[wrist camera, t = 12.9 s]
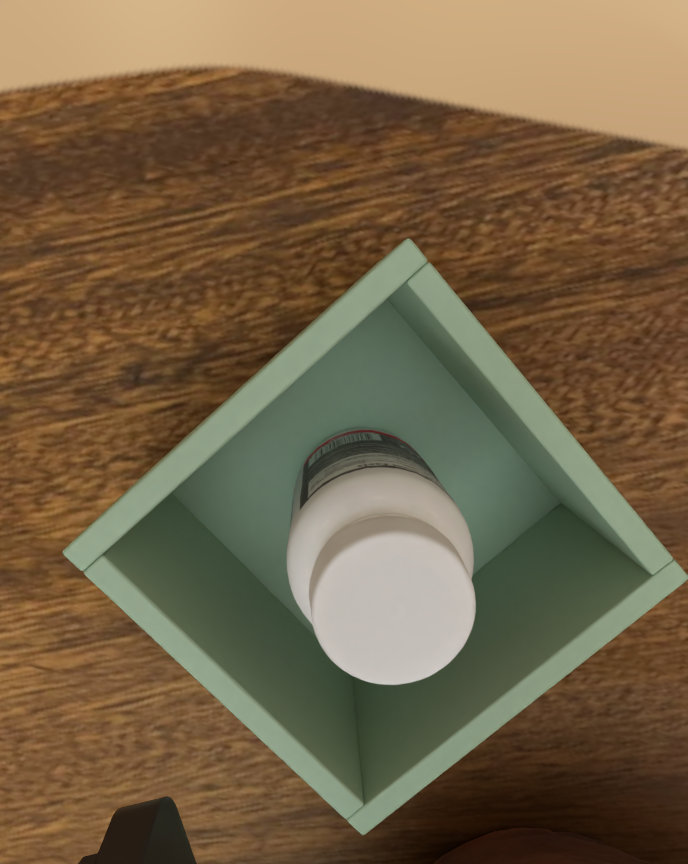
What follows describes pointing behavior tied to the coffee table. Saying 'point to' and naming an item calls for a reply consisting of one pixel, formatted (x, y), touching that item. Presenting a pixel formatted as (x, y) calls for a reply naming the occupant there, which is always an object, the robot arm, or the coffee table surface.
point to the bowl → (536, 849)
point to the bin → (462, 479)
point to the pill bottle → (380, 558)
